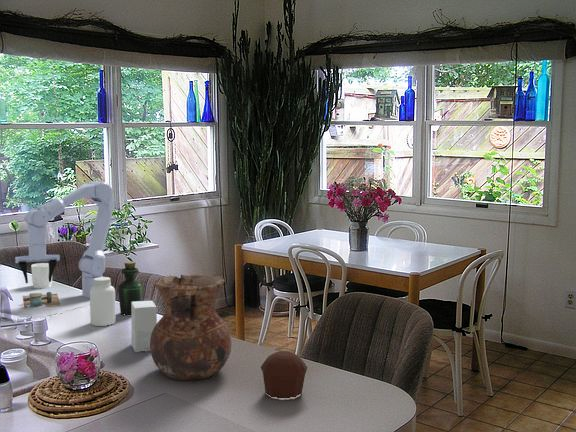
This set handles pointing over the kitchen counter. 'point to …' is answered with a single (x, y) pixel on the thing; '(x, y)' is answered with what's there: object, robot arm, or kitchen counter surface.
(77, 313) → the kitchen counter surface
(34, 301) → the spool
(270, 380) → the muffin
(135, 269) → the potion bottle
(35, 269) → the white cup
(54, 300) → the hook board
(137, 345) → the small box
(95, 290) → the pill bottle
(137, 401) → the kitchen counter surface
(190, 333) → the jug
